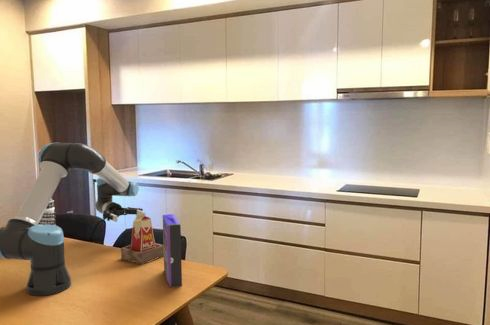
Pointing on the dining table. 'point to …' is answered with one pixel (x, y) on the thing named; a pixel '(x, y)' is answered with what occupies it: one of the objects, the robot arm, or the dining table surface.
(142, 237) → the milk carton
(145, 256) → the open box
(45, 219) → the spiral seashell
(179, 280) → the cereal box
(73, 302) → the dining table surface
